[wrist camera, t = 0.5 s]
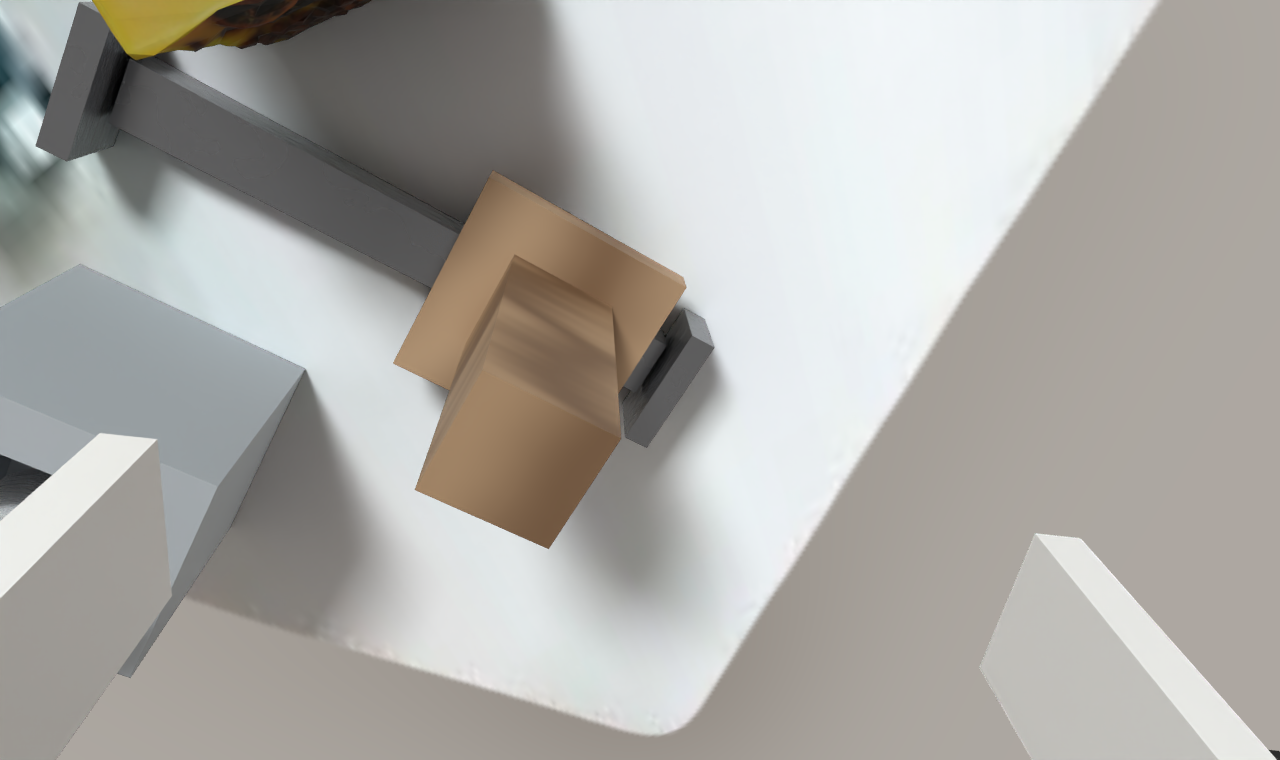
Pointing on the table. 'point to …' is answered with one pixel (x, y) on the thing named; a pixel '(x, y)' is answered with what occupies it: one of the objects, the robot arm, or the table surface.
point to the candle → (212, 22)
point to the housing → (141, 404)
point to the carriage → (531, 357)
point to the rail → (299, 184)
